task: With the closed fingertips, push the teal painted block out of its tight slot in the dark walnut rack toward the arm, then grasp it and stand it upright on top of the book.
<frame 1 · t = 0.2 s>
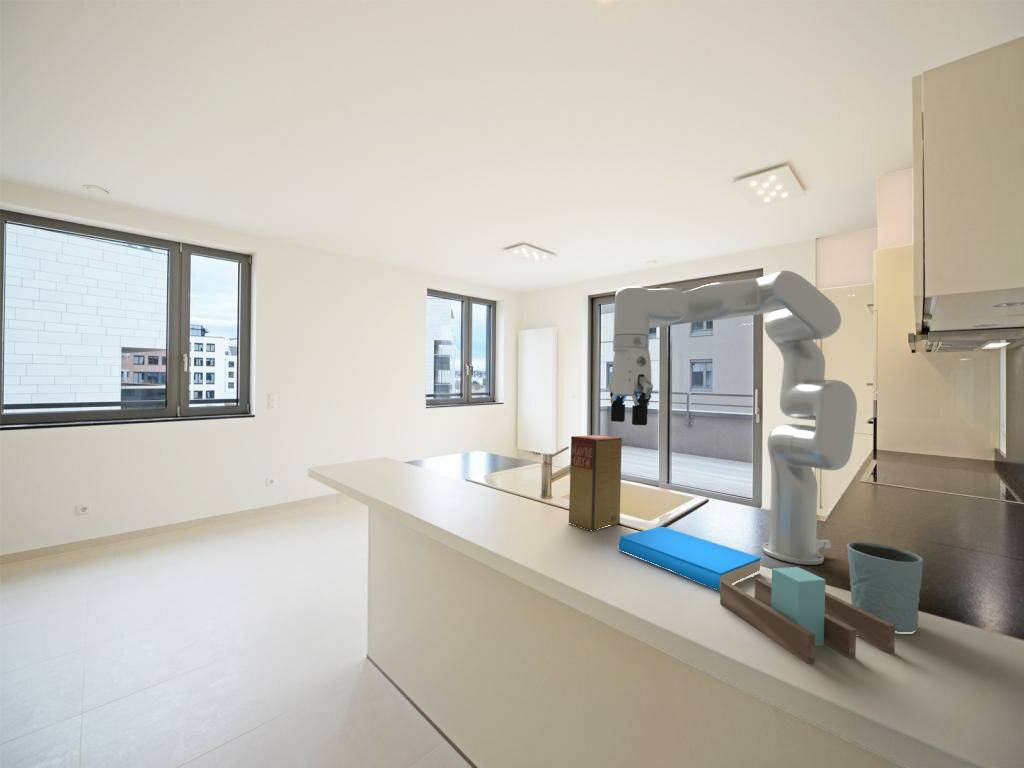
hand: (628, 423, 97), 31 cm above the table, tool pointing down, fingers open, 9 cm apart
slot rack: (799, 625, 74), on the table
block: (796, 637, 70), on the table
food packaging: (594, 524, 128), on the table
book: (685, 564, 100), on the table
blue plant pot: (881, 622, 77), on the table
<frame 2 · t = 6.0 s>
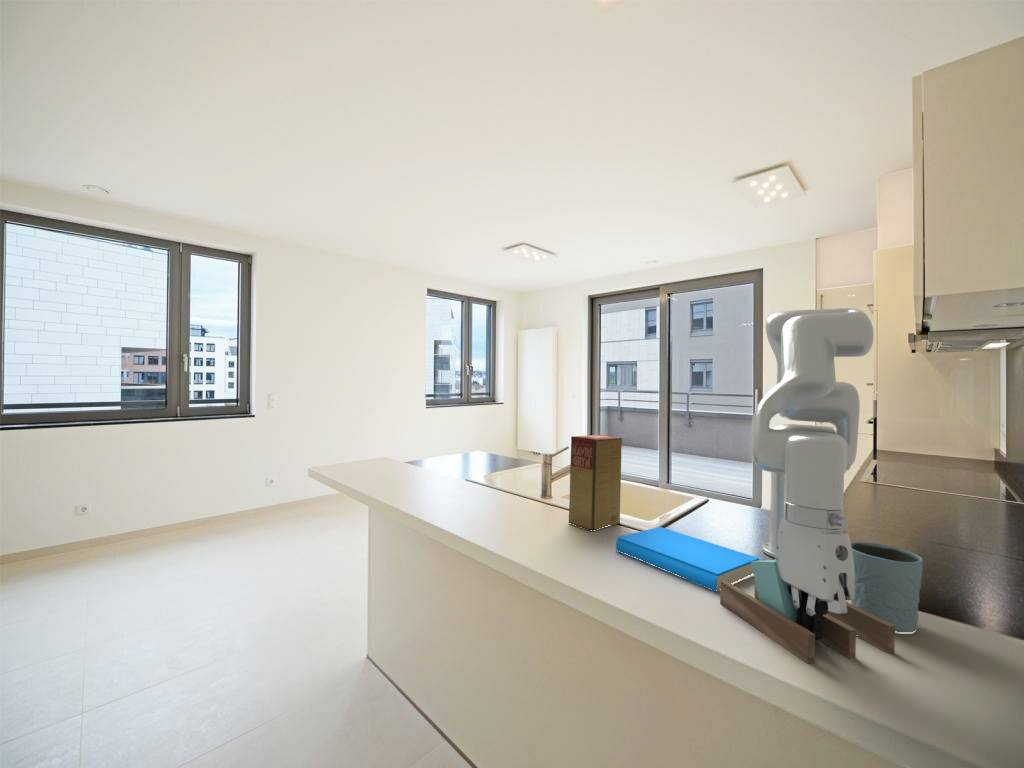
hand: (809, 637, 68), 1 cm above the table, tool pointing down, fingers closed
block: (789, 627, 71), point 1 cm above the table, tilted 19°, touching gripper
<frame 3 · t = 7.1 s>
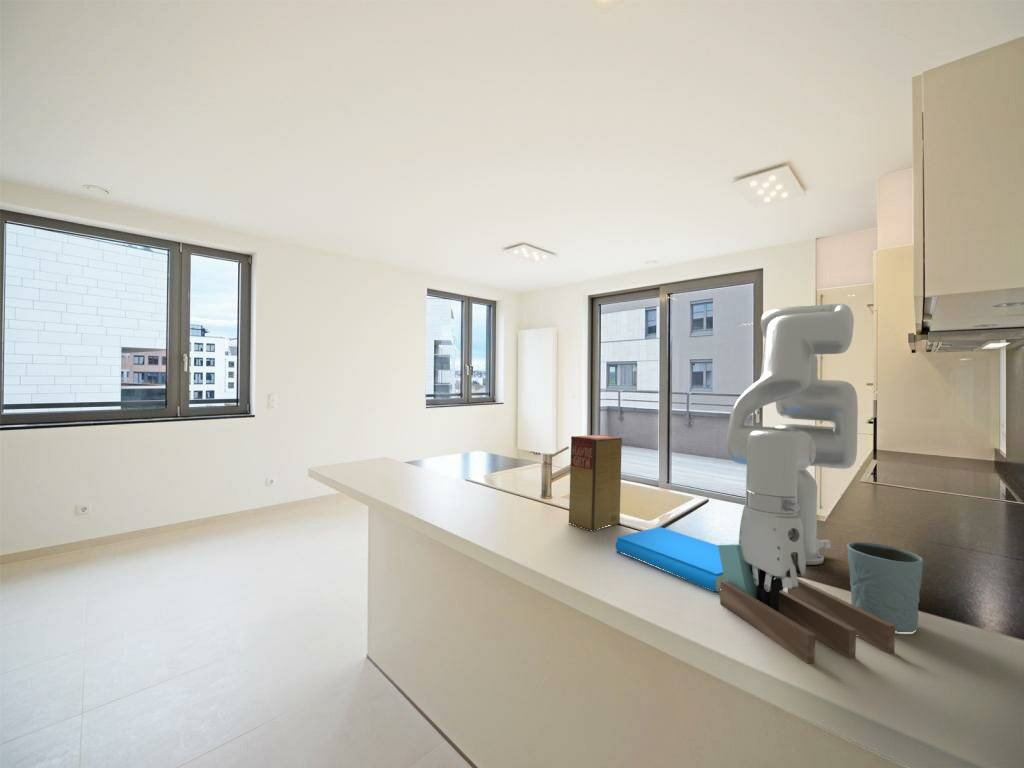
hand: (767, 611, 75), 1 cm above the table, tool pointing down, fingers closed
block: (750, 604, 79), point 1 cm above the table, tilted 19°, touching gripper
everything else where it was.
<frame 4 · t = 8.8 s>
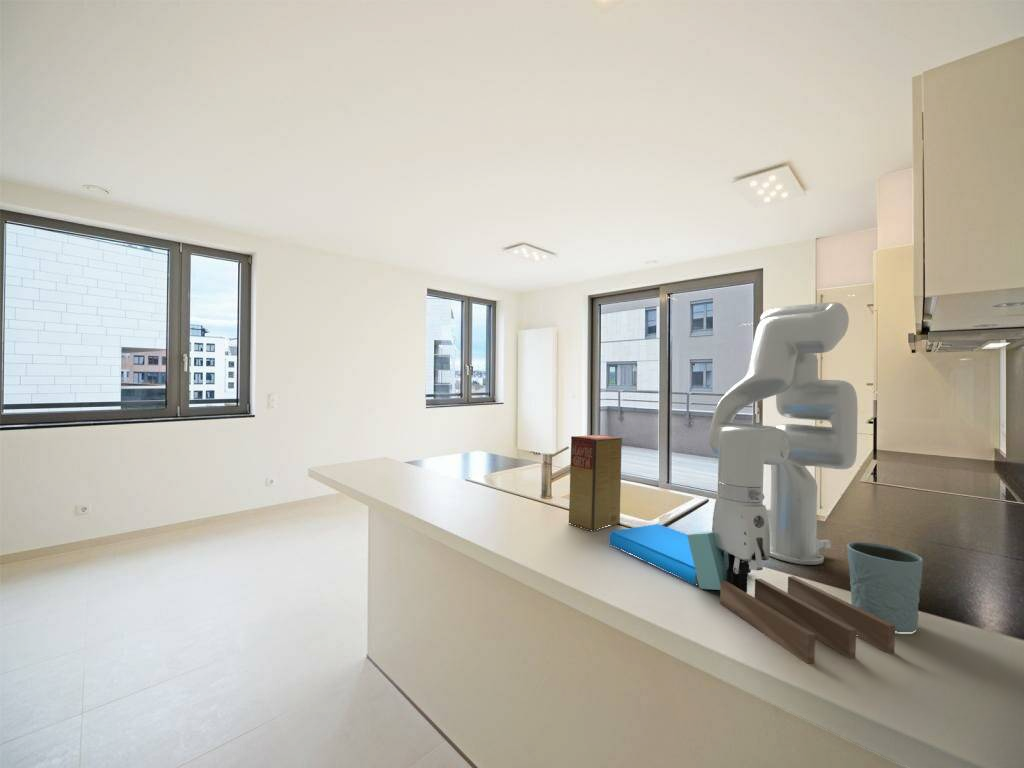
hand: (736, 592, 82), 1 cm above the table, tool pointing down, fingers closed
block: (718, 586, 86), point 1 cm above the table, tilted 20°, touching book, gripper
book: (673, 560, 103), on the table, touching block
everything else where it was.
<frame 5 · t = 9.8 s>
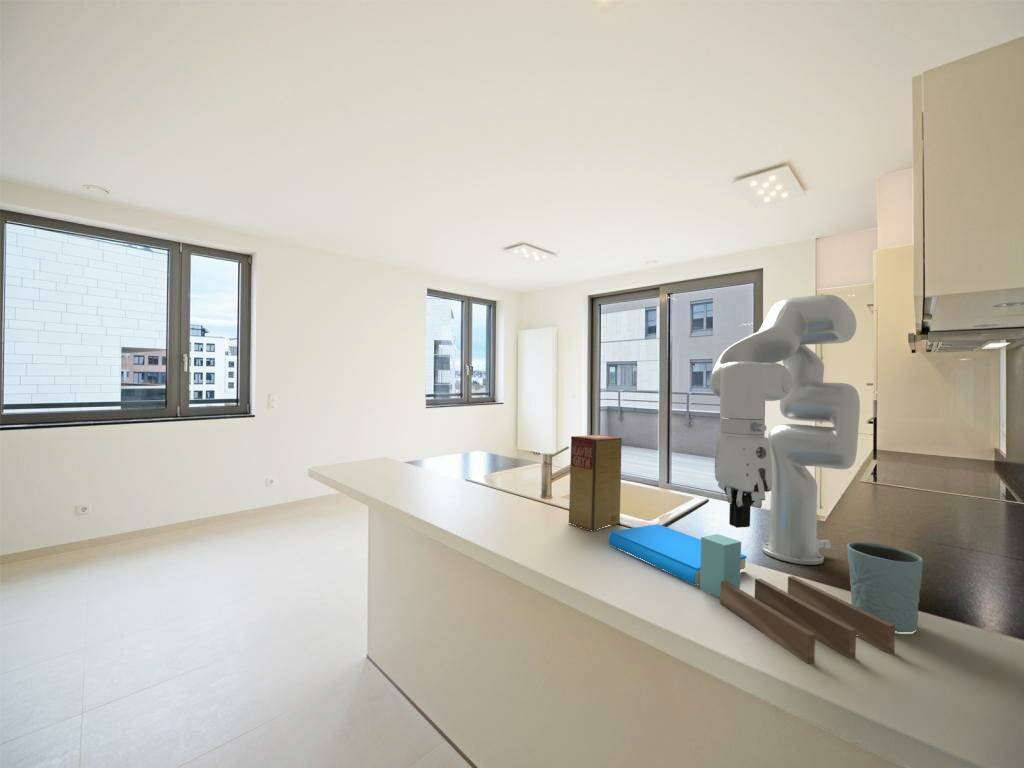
hand: (739, 525, 83), 14 cm above the table, tool pointing down, fingers closed
block: (719, 591, 86), on the table
book: (672, 561, 103), on the table
everything else where it was.
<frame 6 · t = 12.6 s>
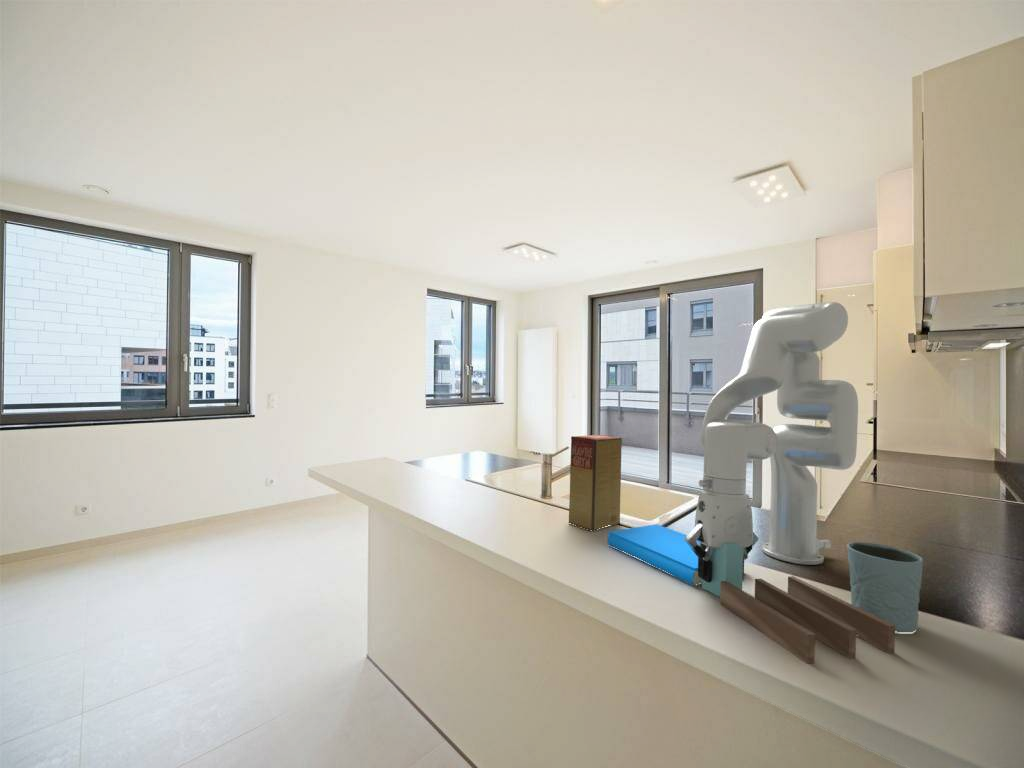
hand: (720, 577, 86), 2 cm above the table, tool pointing down, fingers open, 6 cm apart
block: (721, 591, 86), on the table, touching gripper
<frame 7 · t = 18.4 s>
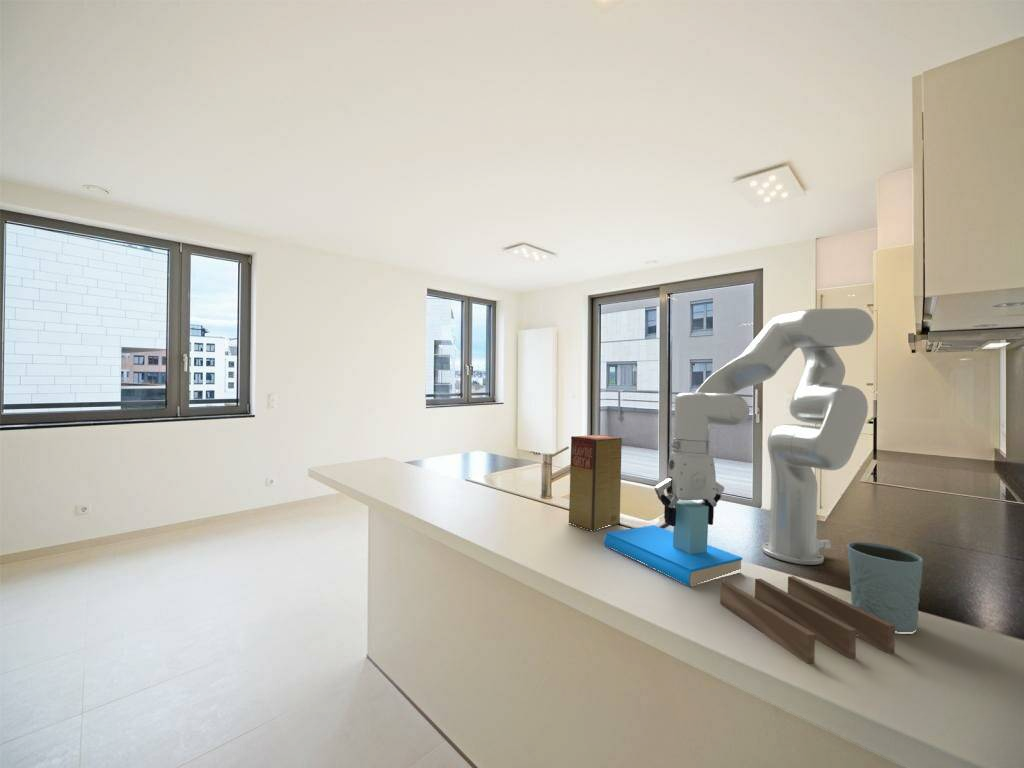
hand: (688, 523, 100), 9 cm above the table, tool pointing down, fingers open, 9 cm apart
block: (689, 549, 99), point 3 cm above the table, touching book
book: (668, 562, 102), on the table, touching block
everything else where it was.
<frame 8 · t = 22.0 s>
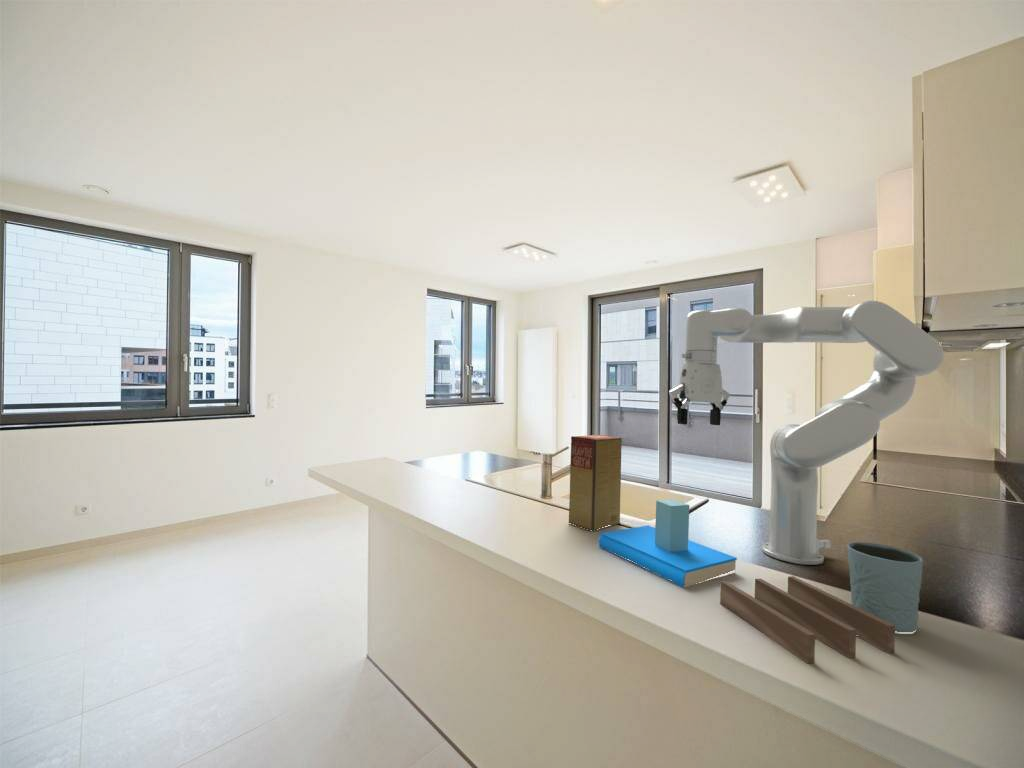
hand: (698, 424, 115), 30 cm above the table, tool pointing down, fingers open, 9 cm apart
block: (671, 547, 100), point 3 cm above the table, touching book
book: (662, 562, 102), on the table, touching block
everything else where it was.
at the end: block inside the target area on the book (1.9 cm from its centre), point 4.1 cm above the book's base; block tilted 0°; the gripper is holding nothing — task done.
